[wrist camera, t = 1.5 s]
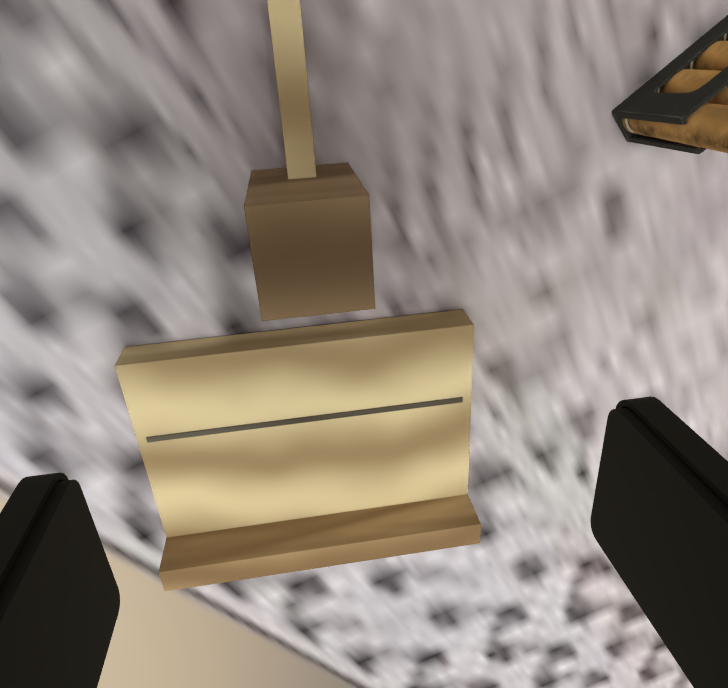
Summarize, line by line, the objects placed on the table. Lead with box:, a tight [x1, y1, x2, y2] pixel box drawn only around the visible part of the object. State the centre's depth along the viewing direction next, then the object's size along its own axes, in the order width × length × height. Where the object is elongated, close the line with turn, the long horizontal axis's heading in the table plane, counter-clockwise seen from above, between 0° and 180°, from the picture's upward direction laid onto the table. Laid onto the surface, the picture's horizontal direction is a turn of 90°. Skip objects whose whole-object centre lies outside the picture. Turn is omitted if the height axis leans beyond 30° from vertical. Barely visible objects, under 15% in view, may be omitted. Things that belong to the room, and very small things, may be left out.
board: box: [115, 310, 481, 591], centre depth 31 cm, size 13×18×4 cm
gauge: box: [244, 0, 375, 321], centre depth 23 cm, size 12×4×7 cm, turn 4°
